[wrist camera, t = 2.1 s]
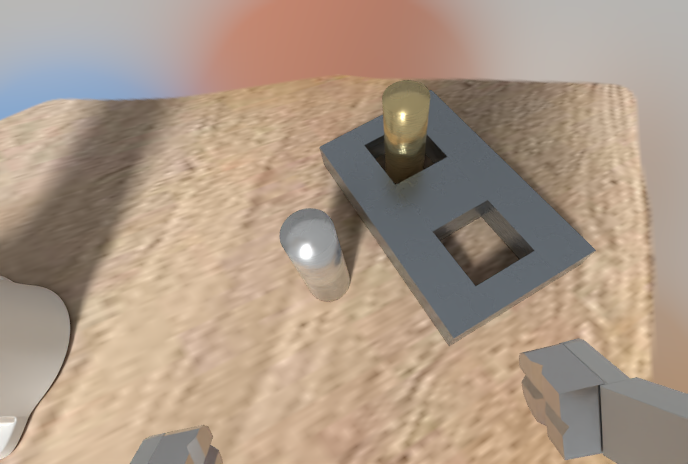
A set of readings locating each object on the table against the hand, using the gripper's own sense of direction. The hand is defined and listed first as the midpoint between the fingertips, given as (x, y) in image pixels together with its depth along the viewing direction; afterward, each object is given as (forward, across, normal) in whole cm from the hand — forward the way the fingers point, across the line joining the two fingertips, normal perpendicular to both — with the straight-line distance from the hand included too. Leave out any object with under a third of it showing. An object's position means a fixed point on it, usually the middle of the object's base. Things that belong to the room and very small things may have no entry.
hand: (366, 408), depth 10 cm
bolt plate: (+29, -9, +4) cm, 30 cm away
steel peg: (+25, +3, +7) cm, 26 cm away
